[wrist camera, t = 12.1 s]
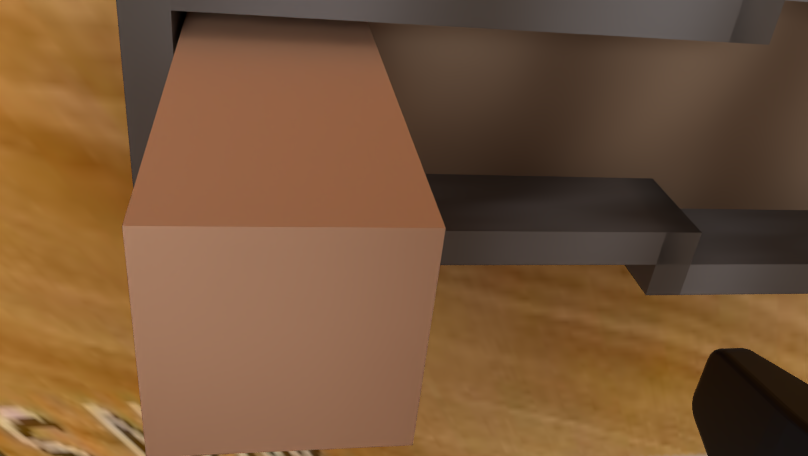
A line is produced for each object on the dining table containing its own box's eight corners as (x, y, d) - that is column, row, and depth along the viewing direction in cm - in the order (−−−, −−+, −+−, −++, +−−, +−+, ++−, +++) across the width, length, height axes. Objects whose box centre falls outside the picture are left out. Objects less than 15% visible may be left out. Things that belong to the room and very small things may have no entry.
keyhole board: (982, -77, 21) (1120, -44, 17) (837, 234, 26) (922, 306, 22) (136, -159, 17) (103, -136, 13) (163, 229, 22) (144, 317, 18)
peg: (362, 9, 18) (445, 228, 10) (351, 159, 20) (412, 445, 12) (191, -1, 18) (122, 225, 9) (197, 156, 20) (146, 457, 11)
